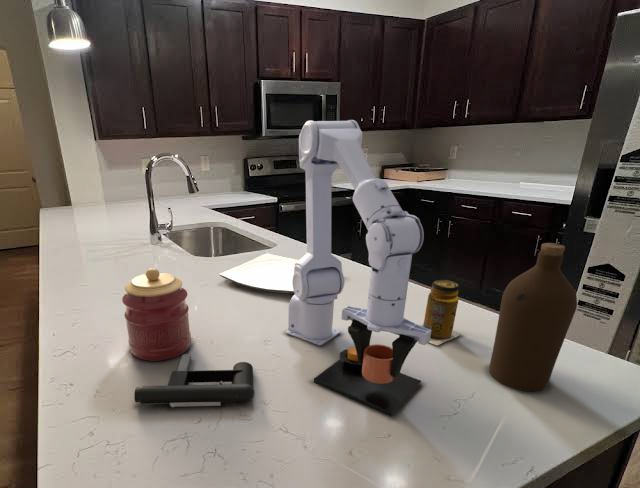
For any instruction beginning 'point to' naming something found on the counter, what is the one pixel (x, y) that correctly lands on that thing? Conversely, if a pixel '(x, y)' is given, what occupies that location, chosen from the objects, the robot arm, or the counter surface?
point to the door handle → (200, 386)
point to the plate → (264, 273)
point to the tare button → (352, 354)
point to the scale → (367, 386)
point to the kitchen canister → (156, 316)
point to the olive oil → (533, 323)
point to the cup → (377, 364)
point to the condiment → (441, 311)
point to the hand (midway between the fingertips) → (378, 367)
